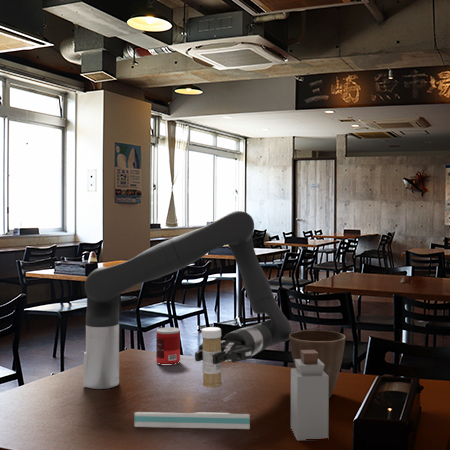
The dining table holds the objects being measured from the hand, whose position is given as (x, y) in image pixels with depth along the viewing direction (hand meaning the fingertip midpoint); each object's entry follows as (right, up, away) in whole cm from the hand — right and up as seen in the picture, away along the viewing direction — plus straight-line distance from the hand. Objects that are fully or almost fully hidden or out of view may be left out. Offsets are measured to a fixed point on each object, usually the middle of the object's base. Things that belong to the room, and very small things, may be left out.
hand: (205, 358), depth 124 cm
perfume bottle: (+23, -15, -6) cm, 28 cm away
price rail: (-3, -15, +2) cm, 15 cm away
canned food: (-14, -15, +54) cm, 57 cm away
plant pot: (+29, -15, +20) cm, 39 cm away
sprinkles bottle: (+2, -7, +2) cm, 8 cm away
